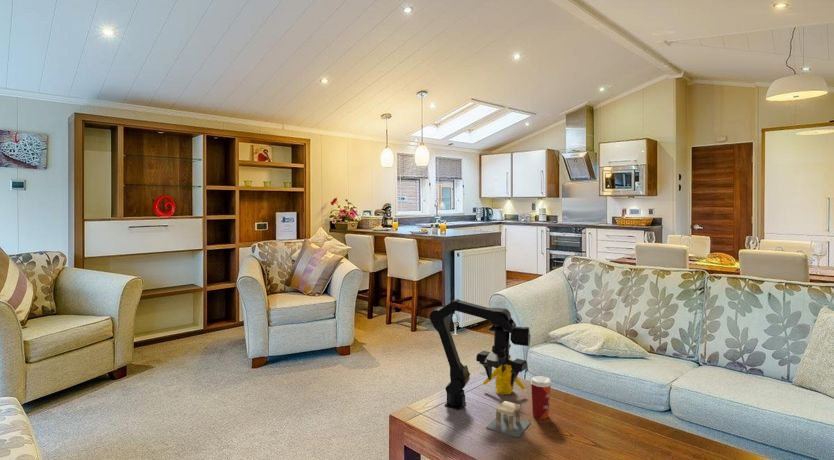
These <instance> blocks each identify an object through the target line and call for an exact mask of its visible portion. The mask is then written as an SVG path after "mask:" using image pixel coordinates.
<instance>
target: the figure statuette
mask: <svg viewBox="0 0 834 460" xmlns="http://www.w3.org/2000/svg"><path fill="white" fill-rule="evenodd" d="M509 344H510V345H511V341H509ZM510 349H511V347H510V348H509V350H510ZM509 360H512V361H513V359H512V357H510V358H509ZM510 370H512V368H511V366H510V365H506V364H505V365H504V366H503V365H501V366H500V367H499V368H494V370H493V371H492V376H491V380H489V379H488V377H487V378H486V379H485V380H484V381H483V382H482V384H483V385H487V384H488V383H490V382H491V381H492V380H493V379H494V378H495V388H496V393H497V395H511V394H512V392H513V390H514V388H515V383H516V385H518V386H519V387H520V388H521V389H522V390H525V389H526V387H525V385H524V384H523V382H522V381H521V380H520V378H519V377H518V376H517V378H516V380H515V382H514V384H513V386H511V371H510Z"/></svg>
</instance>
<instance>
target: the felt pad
mask: <svg viewBox="0 0 834 460" xmlns="http://www.w3.org/2000/svg"><path fill="white" fill-rule="evenodd" d="M530 425H531V422H530V421H527V420H523V419H520V423H519V424H517V423H516V417H513V431H509V415H508V419H507V420H503V414H502V413H501V426H500V427H496V417H495V418H494V419H493V420H492V421H490V422H489V423H488V424H487V425H486V426H485V428H486V429H488V430H491V431H494V432H498V433H501V434H504V435H507V436H511V437H514V438H516V439H517V438H518V439H519V437H520V436H521V435H522V434H523V433H524V431H525V430H526V429H527V428H528V427H529V426H530Z"/></svg>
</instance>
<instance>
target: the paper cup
mask: <svg viewBox="0 0 834 460" xmlns="http://www.w3.org/2000/svg"><path fill="white" fill-rule="evenodd" d="M530 384H531V385H530V386H531V401H532V402H531V403H532V404H531V405H532V406H531V407H532V415H533V417H534V418H536V419H538V420H545V419H548V418H549V412H550V400H551V399H550V398H551V387H552V382H551V379H550V378H549V377H546V376H543V375H542V376H541V375H535V376H533V377H531V380H530Z"/></svg>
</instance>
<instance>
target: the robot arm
mask: <svg viewBox="0 0 834 460" xmlns="http://www.w3.org/2000/svg"><path fill="white" fill-rule="evenodd" d="M455 312H459V313H463V314H465V315H469V316H473V317H477V318H480V319H484V320H486V321H487V322H489V323H490V324H492V325H491V326H490V327H489V328H488V330H489V331H490V332H491V331H492V332H493V334H494V335H493V345H492V347H491V351H487V350H482V351H479V352H478V353H477V354H476V356H475V357H476V358H475V360H476V362H479V364H480V365H481V366H482V367H483V368H484V369H485V374H486V376H487V378H488V379H489V380H491V376H492V373H493V368H494V369H496V368H499V367H500V366H501V365H503V366H504V365H505V364H506V365H510V366H511V368H512V370H510V371H511V386H513V384H514V385H515V383H516V382H515V380H516V378H517V377H518V376H519V374H520V373H522V372H523V371H525V370H526V369H528V362H527V361H526V360H525V359H521V358H515V360H513V359H512V360H509V358H511V354H510V349H511V347H512V345H511V344H513V345H516V346H523V347H530V345H531V331H530V327H528V326H517V324H516V322H515V321H514V319H513V317H512V314H511V312H510V310H509V309H508V308H505V307H504V308H503V307H486V306H483V305H479V304H475V303H471V302H468V301H465V300H464V301H463V300H460V299H458V298H455V299H453V300H452V301H451V302H449V303H447V304H446V305H445V306H439V307H437V308H435V309H433V310H432V311H430V314H429V320H430V322H431V325H432V326H433V328H434V329H435V330H436V332H437V333H438V335H439V338H440V341H441V344H442V347H443V351H444V354H445V356H446V359H447V361H448V362H447V363H448V366H449V378H450V381H449V383H448V384H447V385H446V386H445V387H444V389H445V392H446V403H444V406H445V407H448V408H451V409H454V410H461V408H463V407H464V406H466V405H467V402H466V394H465V390H464V388H465V387H466V386H467V384H468V383H469V381H470V376H471V373H470V371H469V367H468V364H467V365H464V364H463V363H462V362H461V359H460V357H459V353H458V351H457V347H456V344H455V341H454V338H453V335H452V332H451V330H450V315H451V314H453V313H455ZM509 342H511V343H510V344H509ZM509 348H510V349H509ZM491 381H492V380H491Z"/></svg>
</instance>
